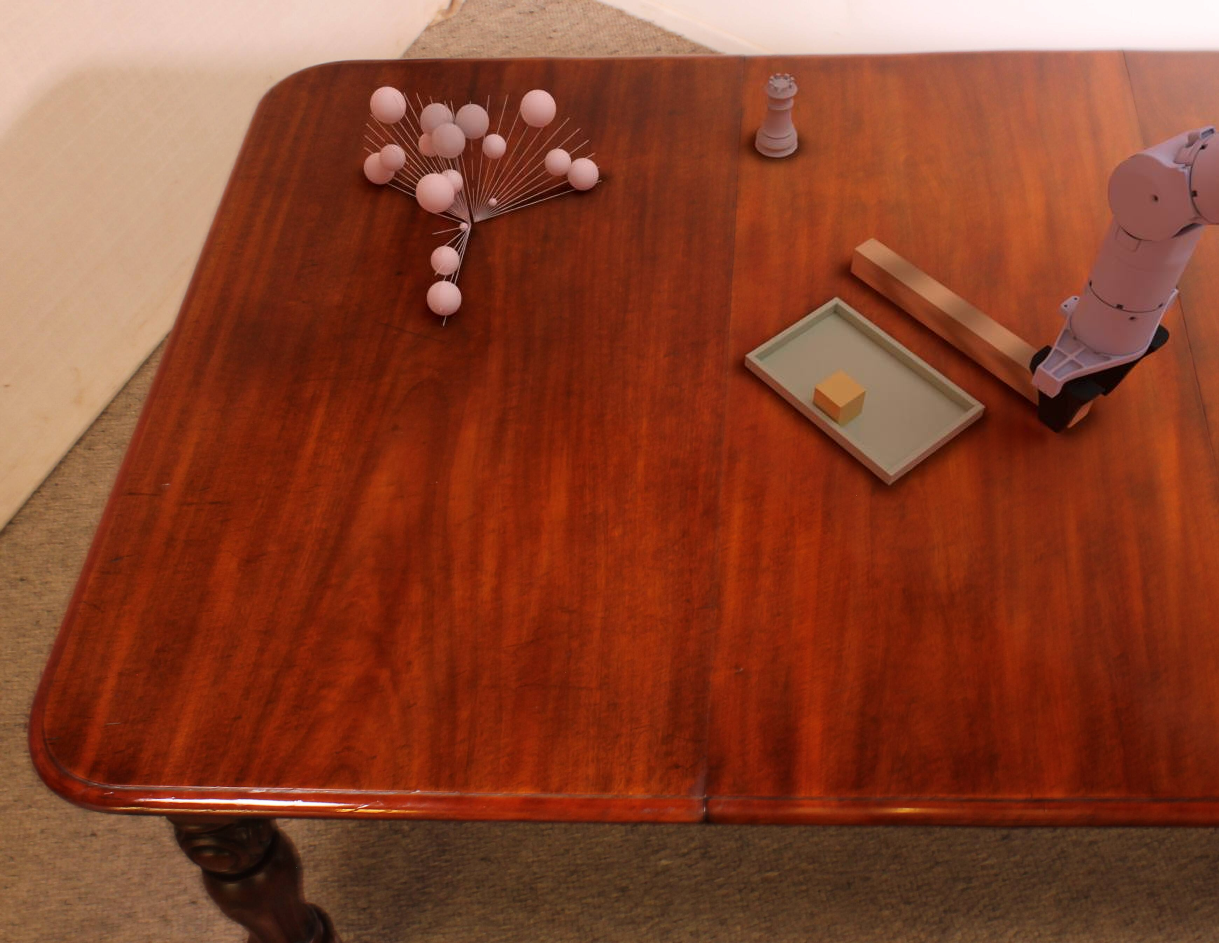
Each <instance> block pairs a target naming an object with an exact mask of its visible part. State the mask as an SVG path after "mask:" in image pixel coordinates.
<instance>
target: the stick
mask: <svg viewBox="0 0 1219 943" xmlns="http://www.w3.org/2000/svg"><path fill="white" fill-rule="evenodd" d="M852 254H853V255H852V259H851V266H850V271H849V272H850V273H851V274H853V275H854V276H855V277H857V278H858V279H859V280H861V281H862V282H864V283H865V284H867V285H868V286H869V287H871V288H872V289H874V290H875V291H876V292H878V293H879V294H881V295H882V296H883V297H885V298H886V299H887V300H889V301H891V302H892V303H893V304H894V305H895V306H897V307H899V308H900V309H902V311H904V312H906V313H907V314H908V315H910V316H911V317H913V318H914V319H916V320H917V321H918V322H920V323H921V324H923V325H924V326H925V327H927V328H928V329H930V330H931V331H932V332H934V333H935V334H937V335H938V336H939V337H941V338H942V339H943V340H945V341H947V342H948V343H949V344H951V346H953V347H955V348H956V349H958V350H959V352H962V353H963V354H964V355H965V356H967V357H969V359H971V360H973V361H974V362H976V363H977V364H978V365H980V366H981V367H982V368H984V369H986V370H987V371H988V372H990V373H991V374H992V375H993V376H995V377H997V378H998V379H999V380H1001V381H1002V382H1004V383H1005V384H1006V385H1007V386H1009V387H1010V388H1012V389H1013V390H1015V391H1016V392H1018V393H1019V394H1020V395H1021V396H1023V397H1025V398H1026V399H1028V400H1029V401H1030V402H1031V403H1033V404H1035V405H1036V406H1037V407H1038V402H1039V398H1038V388H1037V387H1035V386H1034V385H1032V384H1031V381H1032V379H1033V374H1032V373H1031V371H1030V368H1029V366H1030V362H1031V360H1032V357H1033V355H1034V354H1036V353H1037V352H1038V351H1039V350H1038V349H1037V348H1035V347H1034V346H1032V345H1030V344H1029V343H1028V342H1026V341H1025V340H1023V339H1022V338H1021V337H1019V336H1017V335H1016V334H1014V332H1012V331H1010V330H1008V329H1007V328H1006V327H1004V326H1002V325H1001V324H999V323H998V322H997V321H996V320H994V319H993V318H991V317H989V315H987V314H985V313H983V312H982V311H981V310H979V309H978V308H976V307H975V306H974V305H972V304H971V303H969V302H968V301H966V300H964V299H963V298H962V297H960V296H959V295H957V294H956V293H955V292H953V291H951V290H950V289H948V288H947V287H946V286H944V285H943V284H941V283H940V282H938V281H937V280H935V279H934V278H933V277H931V276H929V275H928V274H927V273H925V272H924V271H922V270H921V269H920V268H917V267H916V266H915V265H914V264H912V263H910V262H909V261H908V260H906V259H904V258H903V257H902V256H901V255H899V254H897V253H896V252H894V251H893V250H891V248H889V247H887V246H885V245H884V244H882V243H881V242H880V241H878V240H877V239H875V237H870V238H869V239H867V240H865V241H864V242H862V243H861V244H859V245H858V246H856V247H855V248H854V249H853V253H852ZM1094 400H1095V398H1094V399H1093V400H1092V401H1090V402H1088V403H1087V404H1085V405H1083V406H1082V407H1081V408H1080V410H1079V411H1078V412H1077V414H1076V415H1075V417H1074V418H1073V420H1072V421H1071V422H1070V423H1069V425H1068V426H1067V427H1066V428H1067V429H1070V428H1071V427H1073V426H1074V425H1075V424H1076V423H1078V422H1079V421H1080V420H1081V419H1083V418H1084V417H1085V416H1087V415H1088V414H1089V411H1090V409H1091V407H1092V405H1093V403H1094Z"/></svg>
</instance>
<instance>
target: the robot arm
mask: <svg viewBox="0 0 1219 943" xmlns="http://www.w3.org/2000/svg"><path fill="white" fill-rule="evenodd" d="M1107 201H1108V205H1109V208H1110V211H1111V214H1112V217H1111V220H1110V222H1109V225H1108V226H1107V230H1106V232H1105V234H1104V237H1103V239H1102V242H1101V244H1100V247H1099V248H1098V252H1097V254H1096V257H1095V259H1094V261H1093V264H1092V266H1091V269H1090V271H1089V273H1088V276H1087V278H1086V280H1085V283H1084V286H1083V288H1082V290H1081V293H1080V294H1079V296H1078V295H1072V296H1069V298H1067V299H1066V300H1064V301H1062V302H1061V304H1060V305H1059V308H1058V314H1060V316H1061V317H1063V318H1064V319H1065V323H1064V325H1063V326H1062V328H1061V330H1060V332H1059V335H1058V336H1057V338H1056V340H1055V342H1054V344H1053V346H1050V345H1049V344H1047V345H1045V346H1044V347H1042V348H1040V350H1038V352H1037V353H1036V354H1034V355H1033V357H1032V360H1031V362H1030V366H1029V368H1030V371H1031V373H1032V374H1033V379H1032V381H1031V384H1032V385H1034V386H1035V387H1037V388H1038V398H1039V402H1038V406H1037V408H1038V409H1037V410H1038V411H1037V419H1038V421H1039V422H1040V423H1042V425H1044V426H1046V427H1047V428H1049V429H1050V430H1051V431H1053V432H1054V433H1056V434H1059V433H1061V432H1062V431H1063V430H1064V429H1065V428H1068V427H1067V426H1068V425H1069V423H1070V422H1071V421H1072V420H1073V418H1074V417H1075V415H1076V414H1077V412H1078V411H1079V410H1080V408H1081V407H1082V406H1083V405H1085V404H1087V403H1088V402H1090V401H1092V400H1093V399H1094V400H1095V399H1096V398H1097V397H1098V396H1100V395H1102V396H1103V397H1107V396H1108V395H1109V394H1111V393H1112V392H1113V391H1114V390H1115V389H1116V388H1117V387H1119V385H1120V384H1121V383H1122V381H1123V380H1124V379H1126V377H1127V376H1128V374H1130V372H1131V371H1132V370H1133V369H1134V368H1135V367H1136V366H1137V365H1138V364H1139V363H1140V362H1141V361H1142V360H1143V359H1144V358H1146V357H1147V356H1149V355H1152V354H1153V353H1155V352H1156V351H1158V350H1159V349H1160V348H1162V347H1163V346H1164V345H1165V344H1166V343H1168V341H1169V339H1170V332H1169V330H1168V329H1167V328H1166V327H1165V326H1163V325H1161V324H1160V323H1161V320H1162V319H1163V317H1164V314H1165V313H1166V312H1168V311H1169V310H1170V309H1171V308H1172V306H1173V305H1174V302H1175V300H1176V298H1177V296H1178V294H1179V292H1180V291H1179V290H1178V289H1177V288H1176V287H1177V285H1178V283H1179V281H1180V279H1181V277H1182V275H1183V272H1184V271H1185V269H1186V267H1187V265H1188V263H1189V262H1190V259H1191V258H1192V255H1193V253H1194V251H1195V250H1196V247H1197V245H1198V244H1199V241H1200V239H1201V237H1202V235H1203V233H1204V232H1205V230H1207V227H1208V226H1219V131H1216V127H1215V126H1214V125H1208V126H1202V127H1199V128H1193V129H1188V130H1186V131H1183V132H1181V133H1180V134H1177V135H1175V136H1172V137H1171V138H1168V139H1166V140H1163V141H1161V142H1159V143H1158V144H1155V145H1153V146H1151V147H1149V148H1146V149H1144V150H1142V151H1140V152H1138V153H1135V154H1133V155H1131V156H1129V157H1128V158H1126V159H1125V160H1123V161H1121V162H1120V163H1119V164H1118V165H1117V166H1116V167H1115V168H1114V169H1113V171H1112V172H1111V174H1110V176H1109V179H1108V183H1107ZM1094 400H1093V401H1094Z"/></svg>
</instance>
